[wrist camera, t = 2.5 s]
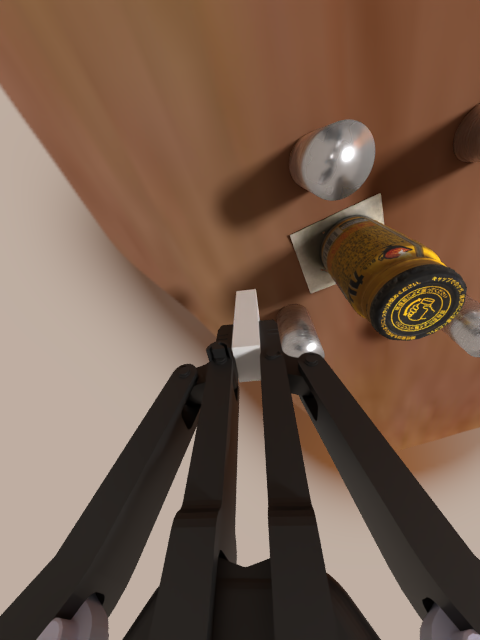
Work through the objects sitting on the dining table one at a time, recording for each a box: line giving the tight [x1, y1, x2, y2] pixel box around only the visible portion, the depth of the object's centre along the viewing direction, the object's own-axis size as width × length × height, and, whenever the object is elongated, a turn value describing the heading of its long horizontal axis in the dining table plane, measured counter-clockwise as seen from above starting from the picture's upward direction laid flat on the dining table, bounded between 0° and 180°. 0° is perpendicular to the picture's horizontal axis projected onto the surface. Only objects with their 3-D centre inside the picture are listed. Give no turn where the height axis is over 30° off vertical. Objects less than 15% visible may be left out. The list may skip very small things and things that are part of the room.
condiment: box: [290, 193, 467, 341], centre depth 19 cm, size 7×8×12 cm
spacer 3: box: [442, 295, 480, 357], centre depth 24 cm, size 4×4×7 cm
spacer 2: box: [289, 120, 375, 201], centre depth 17 cm, size 4×4×7 cm
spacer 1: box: [277, 304, 324, 358], centre depth 26 cm, size 4×4×7 cm
